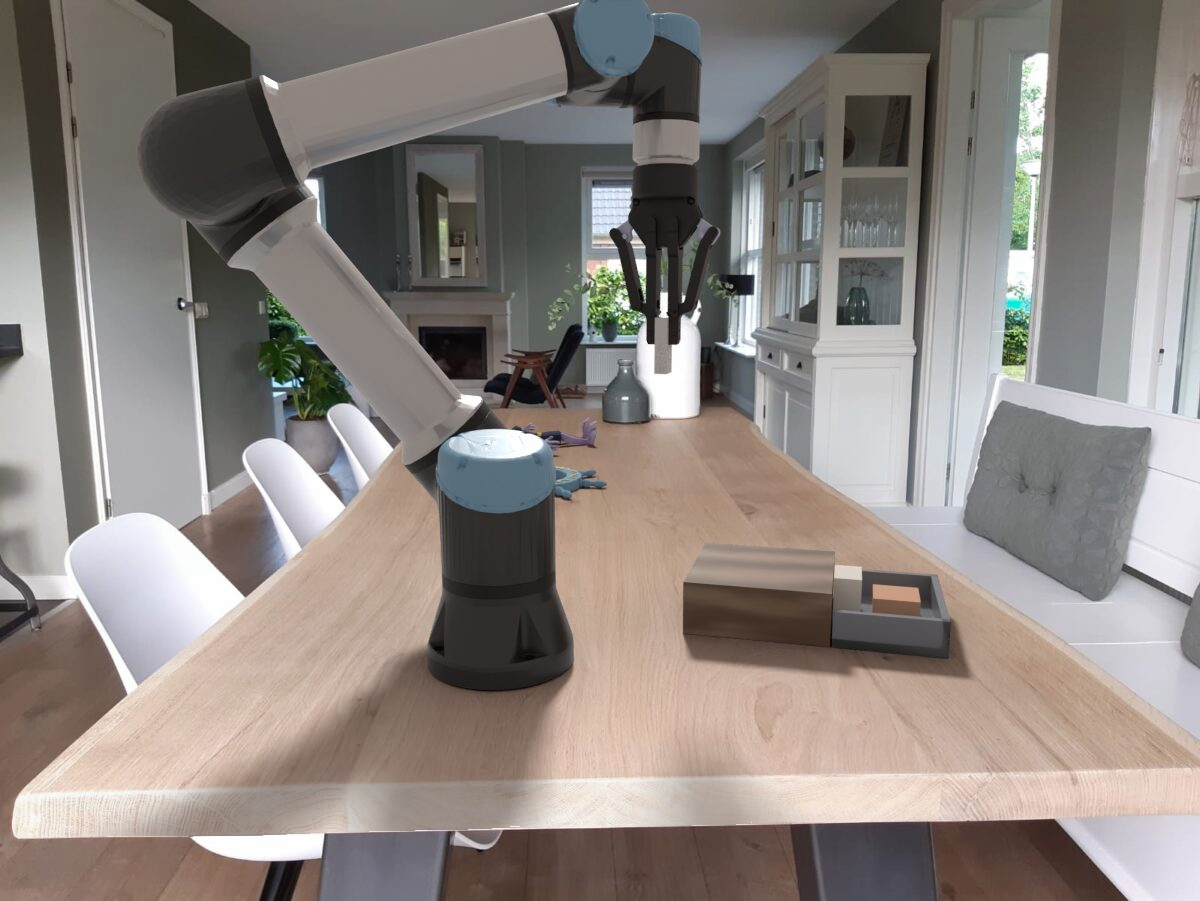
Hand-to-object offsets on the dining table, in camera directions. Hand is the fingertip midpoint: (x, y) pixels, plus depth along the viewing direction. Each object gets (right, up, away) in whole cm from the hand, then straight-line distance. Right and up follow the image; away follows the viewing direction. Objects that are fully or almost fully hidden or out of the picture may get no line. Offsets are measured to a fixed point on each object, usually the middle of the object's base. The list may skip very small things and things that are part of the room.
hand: (662, 372), depth 108 cm
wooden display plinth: (+12, -29, 0) cm, 31 cm away
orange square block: (+26, -25, -5) cm, 37 cm away
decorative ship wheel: (-21, -16, +70) cm, 75 cm away
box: (+25, -29, -4) cm, 39 cm away
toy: (-24, -9, +112) cm, 115 cm away
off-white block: (+20, -25, -3) cm, 32 cm away
